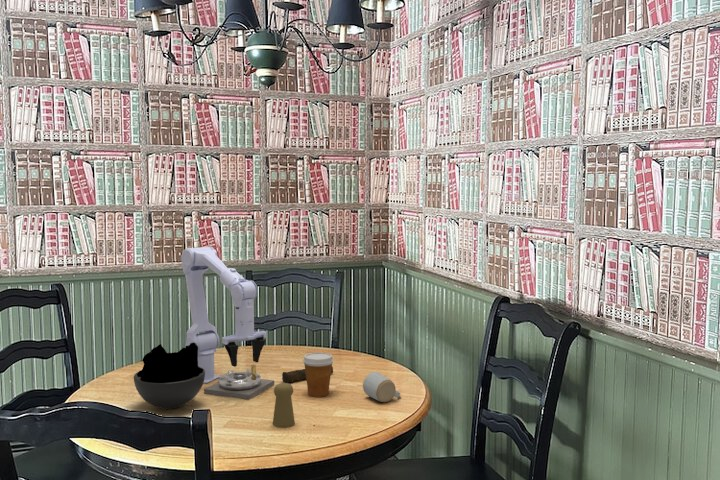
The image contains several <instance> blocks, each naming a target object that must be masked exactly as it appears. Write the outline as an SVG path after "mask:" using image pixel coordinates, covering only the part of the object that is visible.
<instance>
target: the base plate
mask: <svg viewBox="0 0 720 480" xmlns="http://www.w3.org/2000/svg"><path fill="white" fill-rule="evenodd" d="M272 387H275V380H274V379H265V378H261V383H260V385H259V386H257V387H254V388H251V389H245V390H228V389H224V388H221V387H220V386H219V381H218V382H216V383H213V384H212V385H209V386H207V387H205V388H204V389H203V394H205V395H211V396H218V397H219V396H220V397H224V398H233V399H241V400H246V401H250V400H251V399H253V398H254V397H256V396H258V395H259V394H261V393H264V392H265V391H267V390H269V389H270V388H272Z"/></svg>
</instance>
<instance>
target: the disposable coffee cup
mask: <svg viewBox="0 0 720 480" xmlns="http://www.w3.org/2000/svg"><path fill="white" fill-rule="evenodd" d="M302 362H303V364H304V369H305V372H306V379H305V380H306V386H307V395H308V396H310V397H315V398H321V397H326V396H328V395H329V391H330V385H331V384H330V382H331V375H332V374H331V368H332V367H333V362H334V358H333V355H332V354H331V353H328V352H310V353H306V354H305V355H304V356H303V359H302Z"/></svg>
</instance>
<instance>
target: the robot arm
mask: <svg viewBox="0 0 720 480" xmlns="http://www.w3.org/2000/svg"><path fill="white" fill-rule="evenodd" d="M217 253H218V252H217V250H216V249H215V248H214V247H213V246H203V247H186V248H185V249H184V250H183V251H182V254H181V256H180V259H181V264H182V273H183V274H184V276H185V281H186V288H187V295H188V302H189V310H190V316H191V322H192V325H191V326H190V328H188V329H187V331H186V332H185V333H186V334H185V335H186V339H185V340H186V341H185V347H186V346H189V345H190V343H196V345H197V346H198V367H201V368H203V369H204V370H205V378H204V382H203V384H208V383H211V382H212V381H214V380H216V379H219V376H220V375H221V374H218V375H217V374H215V353H216V352H217V349H218V348H219V346H220V340H221V344H223V347H224V349H225V351H226V352H227V354H228V356H229V357H228V358H229V360H230V365H231V367H235V368H236V367H237V366H238V351H239V350H238V349H239V345H237V343H239V342H247V341H251V342H250V343H251V348H252V361H253V362H255V363H256V364H257V363H259V361H260V356H261V353H262V350H263V348H264V346H265V344H266V341H267V340H266V338H267V332H268V331H265V330H261V331H260V330H259V331H258V330H257V331H255V315H254V314H255V299H256V298H257V297H258V292H259V291H258V290H259V289H258V288H259V287H258V285H257V284H256V282H255V281H254V280H252V279H251V280H248V279H245V277H244V276H242V275H241V274H240V273H239V272H237V269H236V268H232V267H227V266H226V265H225V264H224V262H223V261H222V260H221V258H219V257H218V254H217ZM209 269H210V270H211V271H212V272H214V273H215V274H217V275H218V276H219V281H220V282H221V283H222V285H223V286H224V287H225V288H226V289H228V290H229V292H230V295H231V296H230V297H231V299H232V304H233V306H234V320H235V321H234V322H235V323H234V325H235V327H234V328H235V331H234V332H235V333H234V334H231V335H226V336H222V337H221V339H220V336H219V334H218V332H217V327H216V326H215V325H213V324H212V323H210V321H209V314H208V309H207V301H206V295H205V288H204V283H203V282H204V281H203V275H204V273H205V272H208V270H209Z"/></svg>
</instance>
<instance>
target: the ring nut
mask: <svg viewBox="0 0 720 480" xmlns="http://www.w3.org/2000/svg"><path fill="white" fill-rule="evenodd" d="M219 375H220V376H219V378H218V382H219V386H220V387H221V388H224V389H228V390H245V389H251V388H254V387H257V386H259V385H260V383H261V379H262V378H261V373H257V364H250V369H247V370H246V371H234V370H227V373H225V374H219Z"/></svg>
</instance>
